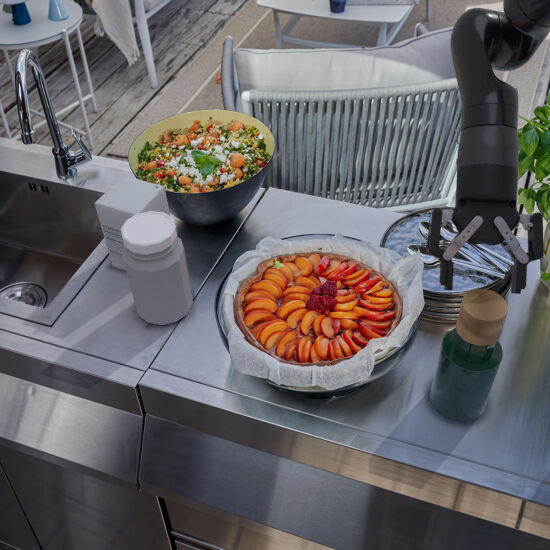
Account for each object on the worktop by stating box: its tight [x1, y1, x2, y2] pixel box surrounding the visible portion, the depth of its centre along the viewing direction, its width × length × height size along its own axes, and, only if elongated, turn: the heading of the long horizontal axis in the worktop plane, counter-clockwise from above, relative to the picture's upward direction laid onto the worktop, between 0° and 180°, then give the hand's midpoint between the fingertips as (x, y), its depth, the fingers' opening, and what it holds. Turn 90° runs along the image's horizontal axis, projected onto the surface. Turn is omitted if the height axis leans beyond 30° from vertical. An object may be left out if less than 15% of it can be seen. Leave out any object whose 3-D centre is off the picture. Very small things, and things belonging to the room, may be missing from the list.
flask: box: [429, 327, 504, 423], centre depth 89 cm, size 8×8×16 cm
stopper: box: [455, 288, 509, 346], centre depth 83 cm, size 6×6×9 cm
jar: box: [121, 211, 194, 326], centre depth 104 cm, size 10×10×18 cm
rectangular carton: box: [94, 175, 171, 271], centre depth 114 cm, size 9×9×15 cm
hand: (482, 291), depth 82 cm, fingers open, 8 cm apart
